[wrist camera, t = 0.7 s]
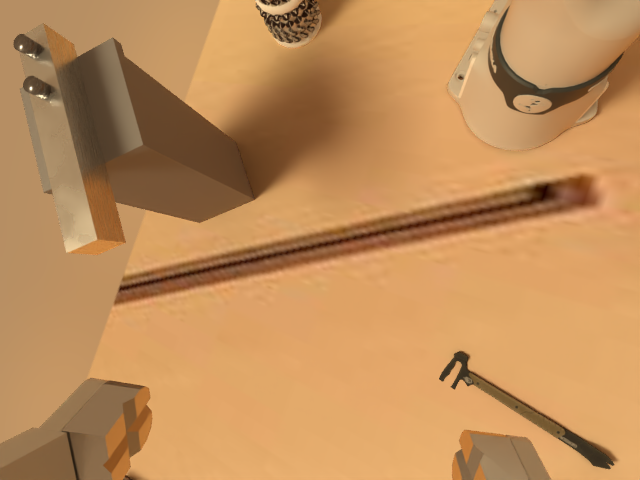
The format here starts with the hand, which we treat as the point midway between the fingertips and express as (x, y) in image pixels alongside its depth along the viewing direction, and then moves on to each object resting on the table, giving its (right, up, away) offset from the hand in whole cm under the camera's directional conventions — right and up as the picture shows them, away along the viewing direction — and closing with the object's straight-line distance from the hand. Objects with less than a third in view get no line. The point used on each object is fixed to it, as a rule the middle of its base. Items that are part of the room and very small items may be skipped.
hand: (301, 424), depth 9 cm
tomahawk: (+26, -18, +38) cm, 49 cm away
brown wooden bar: (-21, +13, +24) cm, 34 cm away
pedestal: (-16, +14, +49) cm, 54 cm away
